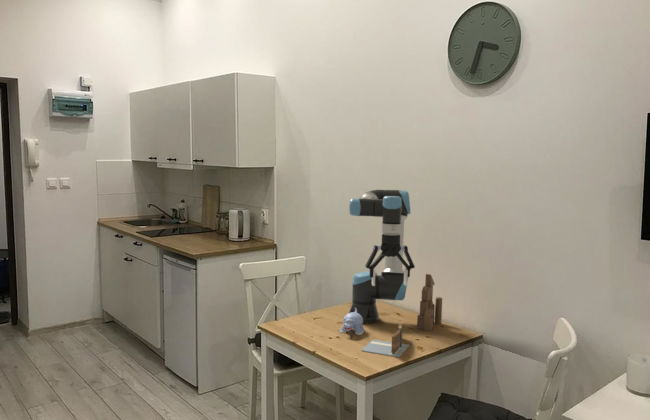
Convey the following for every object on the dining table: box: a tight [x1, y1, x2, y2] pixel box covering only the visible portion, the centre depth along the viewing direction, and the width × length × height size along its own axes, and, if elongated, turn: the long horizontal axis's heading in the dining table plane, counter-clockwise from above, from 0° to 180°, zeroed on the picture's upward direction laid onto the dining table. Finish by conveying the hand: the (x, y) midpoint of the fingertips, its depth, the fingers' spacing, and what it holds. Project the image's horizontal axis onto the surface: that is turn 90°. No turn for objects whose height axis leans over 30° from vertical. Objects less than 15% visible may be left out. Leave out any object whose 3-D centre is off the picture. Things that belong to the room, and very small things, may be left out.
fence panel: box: [398, 319, 403, 330], centre depth 232 cm, size 12×1×7 cm, turn 172°
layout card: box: [361, 338, 410, 358], centre depth 223 cm, size 16×15×1 cm
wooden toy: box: [416, 273, 443, 332], centre depth 254 cm, size 16×7×25 cm, turn 147°
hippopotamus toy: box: [339, 308, 366, 336], centre depth 243 cm, size 11×15×10 cm
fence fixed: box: [391, 329, 403, 354], centre depth 220 cm, size 2×11×8 cm, turn 157°
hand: (389, 285), depth 221 cm, fingers open, 13 cm apart
